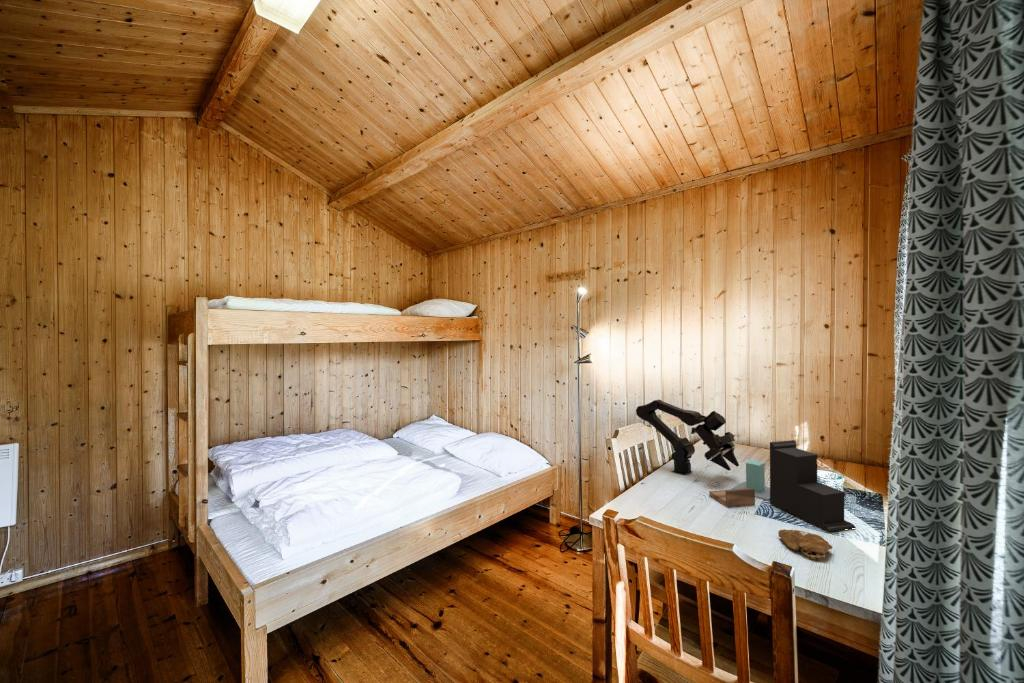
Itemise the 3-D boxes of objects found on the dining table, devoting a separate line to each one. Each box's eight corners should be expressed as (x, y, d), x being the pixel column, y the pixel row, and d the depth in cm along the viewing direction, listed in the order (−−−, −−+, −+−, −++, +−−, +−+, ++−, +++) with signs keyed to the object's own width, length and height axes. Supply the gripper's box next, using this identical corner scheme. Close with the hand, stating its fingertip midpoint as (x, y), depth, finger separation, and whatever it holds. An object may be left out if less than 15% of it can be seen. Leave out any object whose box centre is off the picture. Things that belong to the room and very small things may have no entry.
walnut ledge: (709, 496, 162) (709, 481, 162) (734, 494, 163) (734, 479, 163) (728, 507, 151) (727, 491, 151) (755, 505, 153) (754, 489, 153)
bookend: (856, 529, 132) (855, 456, 132) (829, 533, 130) (827, 459, 130) (793, 501, 155) (792, 439, 155) (769, 504, 153) (768, 441, 153)
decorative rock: (846, 564, 114) (809, 540, 129) (846, 549, 114) (809, 526, 129) (804, 563, 114) (771, 538, 129) (804, 548, 114) (772, 525, 129)
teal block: (746, 489, 167) (745, 462, 167) (751, 486, 170) (751, 460, 170) (759, 493, 163) (759, 465, 163) (764, 490, 166) (764, 462, 166)
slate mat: (729, 490, 167) (729, 489, 167) (744, 482, 176) (744, 481, 176) (768, 500, 156) (767, 499, 156) (781, 491, 165) (781, 490, 165)
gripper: (713, 428, 171) (740, 461, 162) (730, 423, 183) (757, 454, 175) (693, 443, 176) (719, 476, 168) (711, 437, 189) (736, 467, 181)
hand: (734, 468), depth 173 cm, fingers open, 9 cm apart
